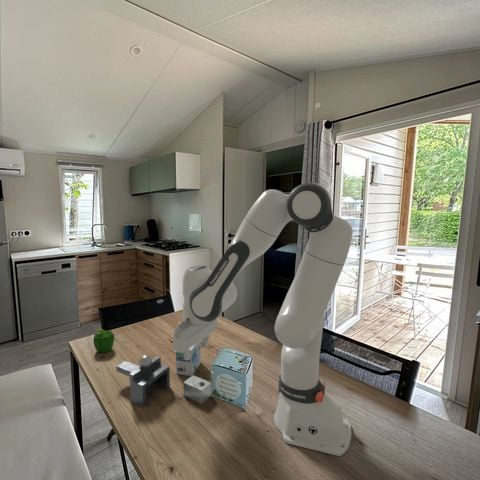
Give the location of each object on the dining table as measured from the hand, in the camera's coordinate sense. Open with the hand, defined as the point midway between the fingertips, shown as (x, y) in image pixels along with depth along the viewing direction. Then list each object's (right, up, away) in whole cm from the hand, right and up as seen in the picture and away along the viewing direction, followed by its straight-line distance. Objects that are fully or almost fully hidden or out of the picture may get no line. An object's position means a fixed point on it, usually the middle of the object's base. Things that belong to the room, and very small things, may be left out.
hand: (196, 352), depth 98 cm
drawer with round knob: (-21, -15, +5) cm, 27 cm away
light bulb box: (-6, -14, +19) cm, 24 cm away
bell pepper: (-46, -11, +32) cm, 57 cm away
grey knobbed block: (0, -16, +2) cm, 16 cm away
